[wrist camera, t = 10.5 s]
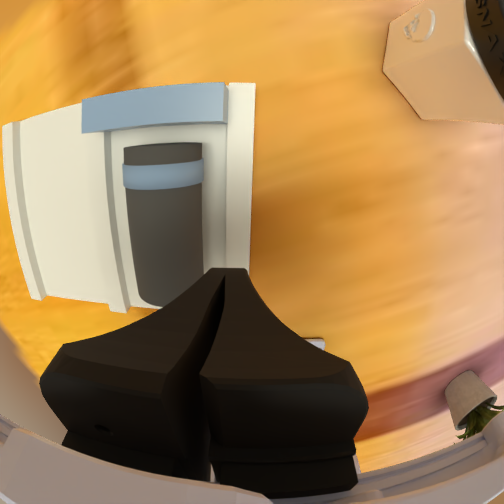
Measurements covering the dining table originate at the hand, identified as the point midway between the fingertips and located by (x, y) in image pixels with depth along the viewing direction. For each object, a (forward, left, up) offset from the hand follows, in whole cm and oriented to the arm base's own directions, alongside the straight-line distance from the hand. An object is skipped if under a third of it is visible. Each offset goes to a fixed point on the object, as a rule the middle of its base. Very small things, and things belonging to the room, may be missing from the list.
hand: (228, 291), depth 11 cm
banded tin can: (+1, +4, -9) cm, 10 cm away
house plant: (-22, -29, -10) cm, 38 cm away
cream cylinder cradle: (+1, +10, -9) cm, 13 cm away
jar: (+13, -13, -10) cm, 21 cm away
